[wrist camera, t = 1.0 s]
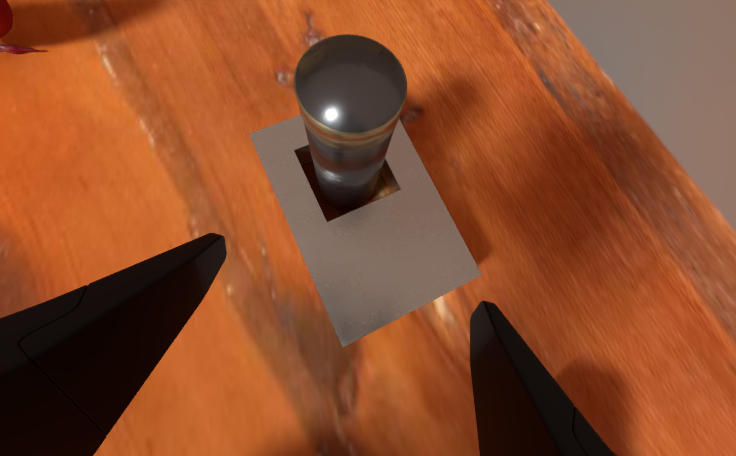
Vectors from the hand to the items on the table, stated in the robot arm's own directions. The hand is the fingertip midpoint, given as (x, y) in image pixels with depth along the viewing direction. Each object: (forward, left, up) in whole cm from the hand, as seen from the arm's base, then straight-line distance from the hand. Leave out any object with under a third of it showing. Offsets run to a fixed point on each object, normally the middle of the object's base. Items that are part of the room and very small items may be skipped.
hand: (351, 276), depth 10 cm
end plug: (+4, +8, -14) cm, 17 cm away
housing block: (+4, +5, -14) cm, 16 cm away
